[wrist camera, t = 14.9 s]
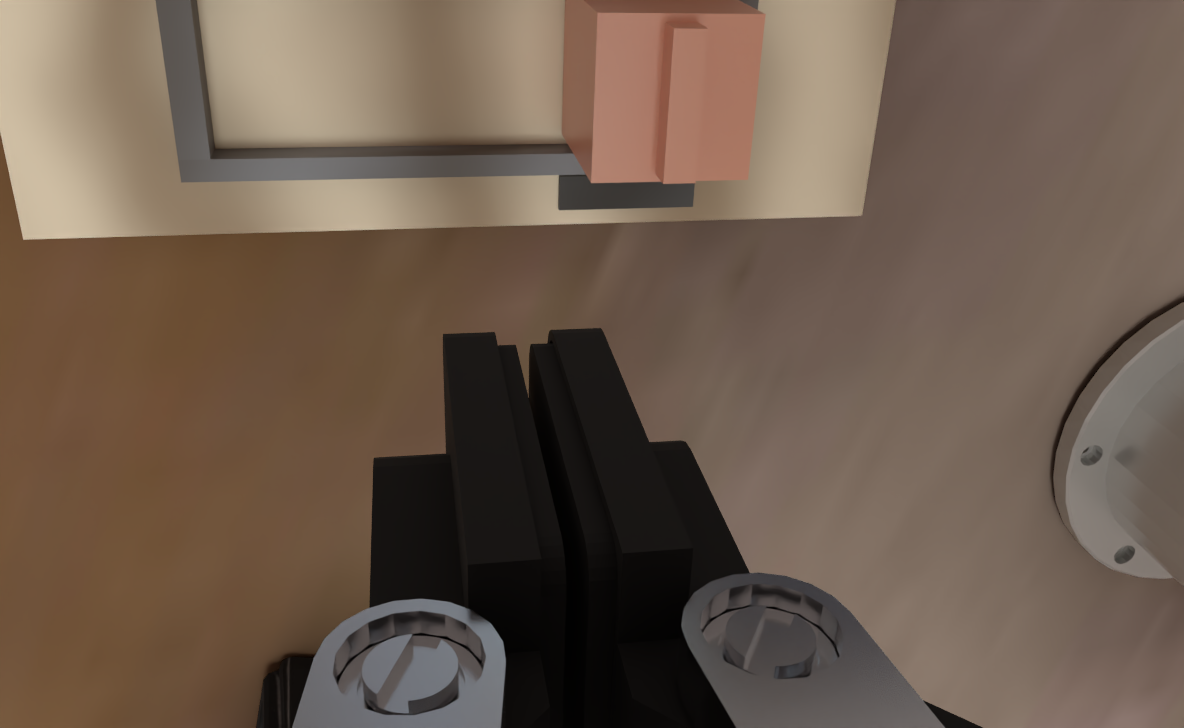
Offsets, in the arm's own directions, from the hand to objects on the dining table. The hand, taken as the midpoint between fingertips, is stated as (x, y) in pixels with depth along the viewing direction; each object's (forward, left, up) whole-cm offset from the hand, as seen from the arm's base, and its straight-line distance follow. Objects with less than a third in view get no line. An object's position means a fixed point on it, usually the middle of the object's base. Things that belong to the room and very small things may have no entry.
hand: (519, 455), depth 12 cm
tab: (-6, 0, -20) cm, 20 cm away
